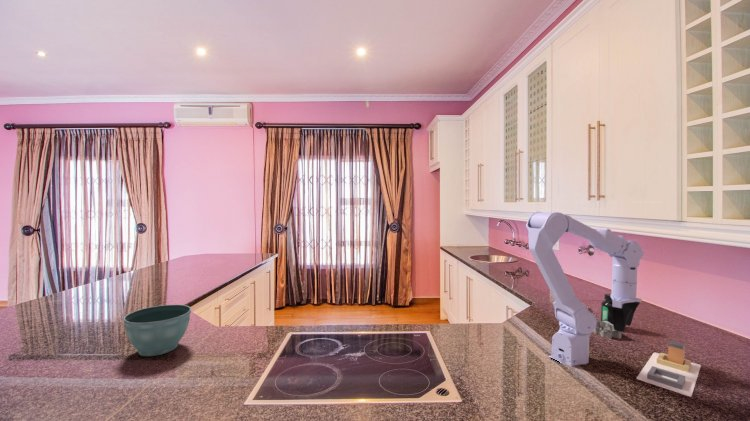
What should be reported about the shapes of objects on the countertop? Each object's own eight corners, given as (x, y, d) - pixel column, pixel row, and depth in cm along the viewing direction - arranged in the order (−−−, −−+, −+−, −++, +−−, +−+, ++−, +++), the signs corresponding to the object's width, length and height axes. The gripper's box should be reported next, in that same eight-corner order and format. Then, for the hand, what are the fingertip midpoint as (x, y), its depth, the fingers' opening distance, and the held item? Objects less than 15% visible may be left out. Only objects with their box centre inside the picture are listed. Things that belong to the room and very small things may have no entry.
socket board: (691, 400, 73) (691, 391, 73) (636, 381, 81) (636, 373, 81) (700, 367, 89) (701, 360, 89) (653, 354, 97) (654, 348, 97)
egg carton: (583, 327, 119) (584, 316, 119) (604, 328, 119) (604, 317, 119) (603, 339, 108) (603, 327, 108) (626, 340, 108) (626, 328, 108)
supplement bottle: (604, 329, 117) (605, 296, 117) (597, 322, 123) (598, 291, 123) (626, 331, 115) (627, 298, 115) (618, 325, 121) (619, 293, 121)
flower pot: (111, 354, 89) (111, 315, 89) (170, 334, 104) (171, 301, 104) (142, 369, 82) (143, 327, 82) (202, 345, 96) (202, 309, 96)
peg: (682, 368, 87) (683, 346, 87) (667, 364, 89) (668, 342, 89) (684, 365, 89) (684, 343, 89) (669, 361, 91) (670, 340, 91)
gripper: (635, 287, 85) (634, 338, 85) (647, 280, 94) (645, 326, 94) (604, 282, 90) (602, 330, 90) (617, 276, 100) (616, 319, 100)
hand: (622, 327), depth 93 cm, fingers open, 7 cm apart
